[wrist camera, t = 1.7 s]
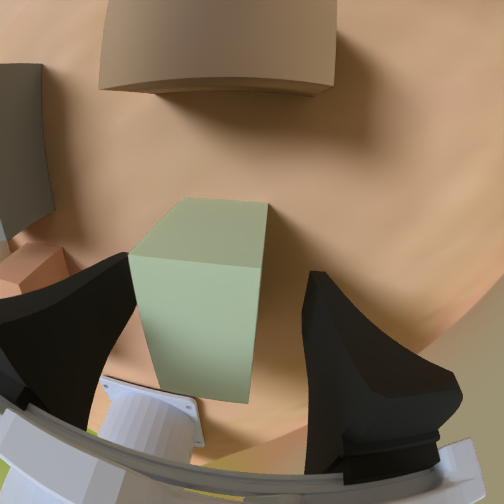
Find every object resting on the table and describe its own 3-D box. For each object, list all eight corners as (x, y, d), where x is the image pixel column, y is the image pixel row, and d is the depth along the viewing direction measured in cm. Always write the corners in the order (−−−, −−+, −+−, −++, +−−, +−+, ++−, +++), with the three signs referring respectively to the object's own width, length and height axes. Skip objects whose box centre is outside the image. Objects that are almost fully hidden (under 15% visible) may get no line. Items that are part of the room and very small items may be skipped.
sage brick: (257, 319, 14) (248, 403, 9) (191, 311, 14) (161, 389, 9) (268, 202, 11) (261, 268, 6) (184, 196, 11) (127, 254, 7)
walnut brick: (316, 18, 7) (336, -27, 4) (312, 97, 9) (333, 86, 5) (161, 19, 8) (111, -12, 4) (155, 94, 9) (98, 89, 6)
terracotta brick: (88, 326, 16) (59, 369, 12) (54, 316, 16) (24, 353, 12) (63, 246, 13) (18, 284, 9) (28, 241, 13) (-13, 274, 10)
